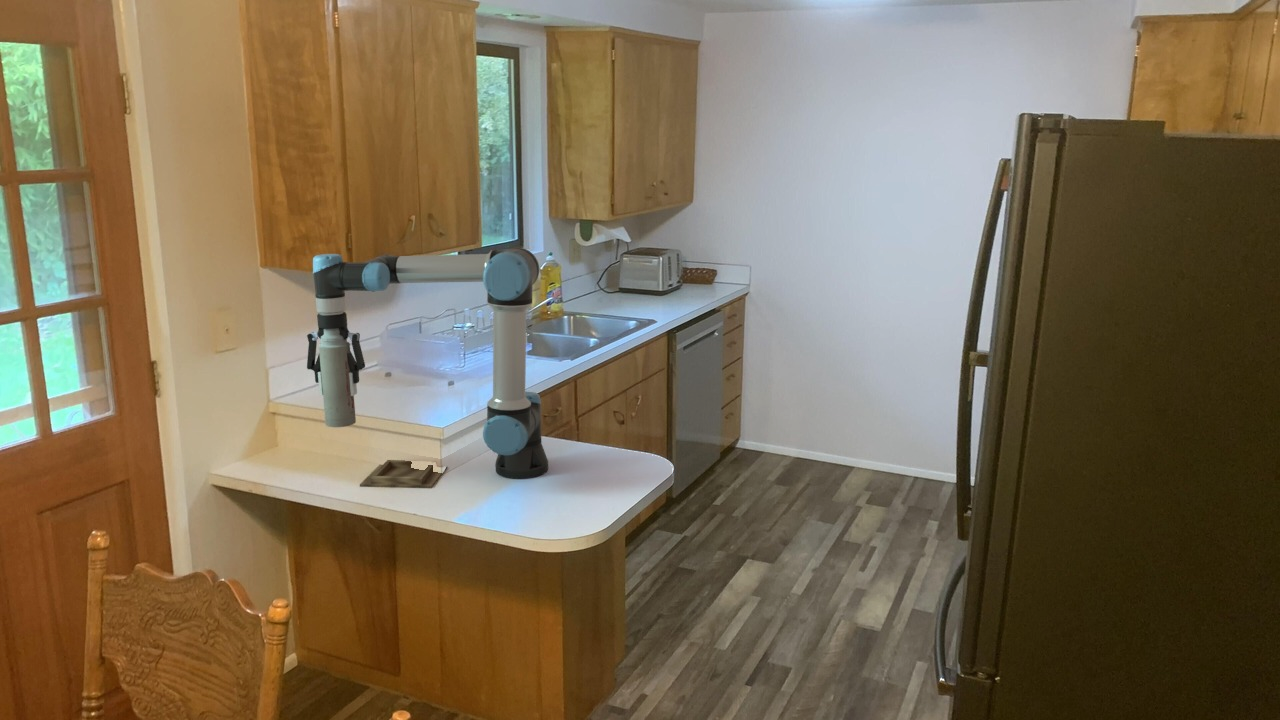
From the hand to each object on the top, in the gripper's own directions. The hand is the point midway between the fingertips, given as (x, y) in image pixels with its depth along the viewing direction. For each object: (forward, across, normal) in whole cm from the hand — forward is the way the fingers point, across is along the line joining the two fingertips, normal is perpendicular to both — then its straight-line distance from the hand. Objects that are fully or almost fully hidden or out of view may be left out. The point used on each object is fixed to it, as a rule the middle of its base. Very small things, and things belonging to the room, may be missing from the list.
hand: (338, 394), depth 252 cm
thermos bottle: (+8, 0, 0) cm, 8 cm away
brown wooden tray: (+25, -16, -4) cm, 30 cm away
